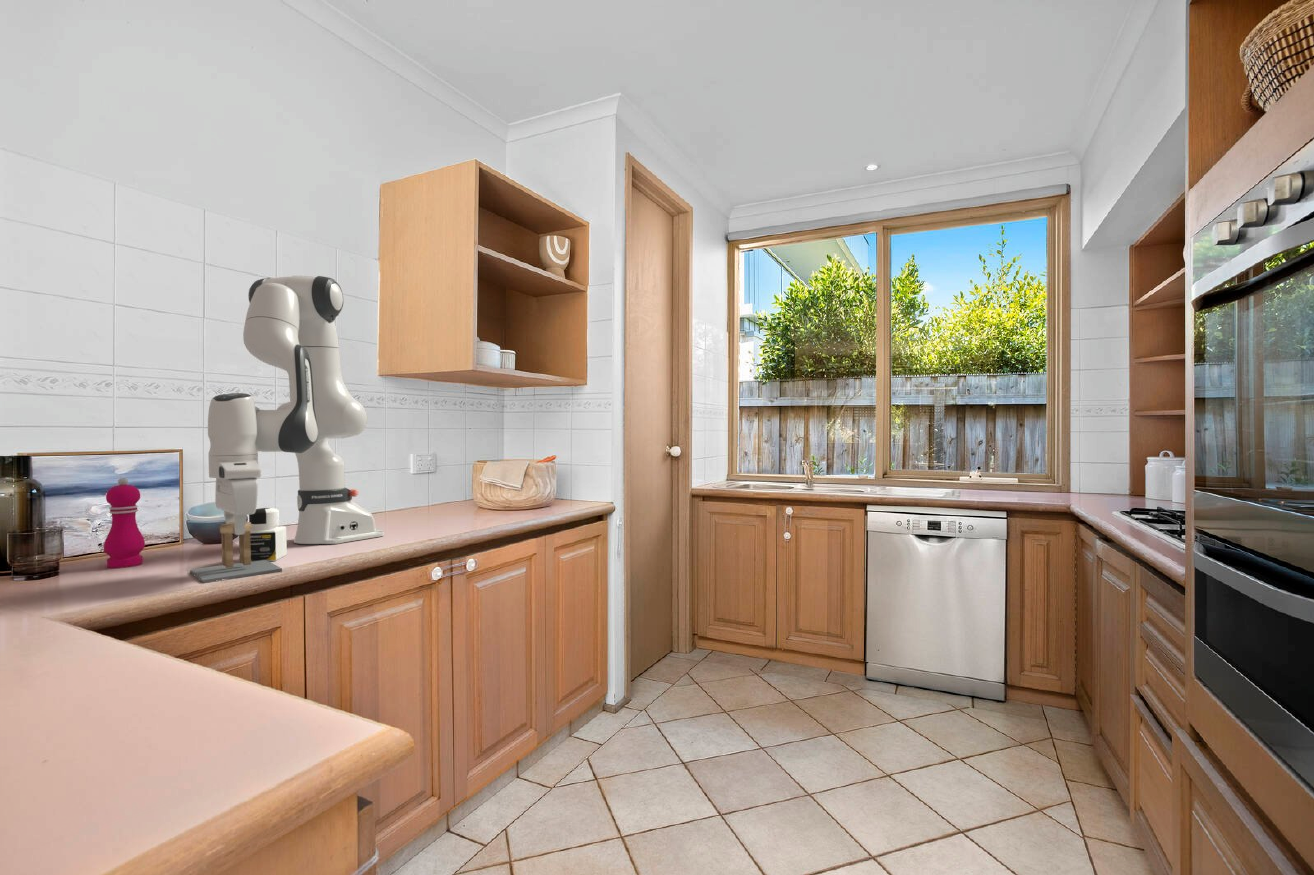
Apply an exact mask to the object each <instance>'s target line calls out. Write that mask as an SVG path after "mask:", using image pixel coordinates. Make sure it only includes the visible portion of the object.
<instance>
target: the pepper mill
mask: <svg viewBox="0 0 1314 875" xmlns="http://www.w3.org/2000/svg"><path fill="white" fill-rule="evenodd" d="M128 483H129V480H128V479H127V478H126V477H122V478H119V479H118V481H117V484H118V485H115V486H112V487H111V488H109V489H108V490H107V492H106V494H105V500H106V502H107V503H108V504H109V505H110V507H109V512H108V513H109V514H111V519H112V520H111V525H110V529H109V531H108V533H107V536H106V538H105V540H104V543H103V552H104V553H105V554H106V555H107V556H109V558H107V559H106V567H107V568H108V567H109V568H108V569H120V568H121V567H123V568H129V567H128V566H130V567H135V566H140V565H142V564H143V561H144V558H143V555H142V554H140V553H141V552H142V551H143V550H144V549H145V548H146V543H145V538H144V535H143V534H142V532H141V530H140V529H139V527H138V523H137V519H136V515H137V512H138V511H139V510H138V508H139V505H136V504H137V503H138V502H139V501H140V499H141V493H140V490H139V489H138V488H137V487H136V486H134V485H131V484H128Z"/></svg>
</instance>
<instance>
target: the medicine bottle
mask: <svg viewBox="0 0 1314 875" xmlns="http://www.w3.org/2000/svg"><path fill="white" fill-rule="evenodd" d="M248 522H251V531H250V545H251V561H257V560H264V559H265V560H267V561H269V562H277V561H279V560H280V559H282V558H284V557H286V556H287V555H288V549H287V527H286V526H284V525H283V526H282V525H280V510H279V509H277V508H275V507H260V508H256V511H255V513H254V514H250V515H248ZM279 525H280V526H279Z"/></svg>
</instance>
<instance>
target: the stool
mask: <svg viewBox="0 0 1314 875" xmlns="http://www.w3.org/2000/svg"><path fill="white" fill-rule="evenodd" d="M233 526H234V523H226V522H225V523H221V524H219V534H221V565H223V566H225V567H226V568H230V567H233V564H234V542H233V540H234V537H233V536H234V535H233V534H234V528H233ZM250 531H251V522H249V521H246V524H245V533H244V534H242V535H238V550H239V553H238V554H239V557H238V558H239V563H243V565H251V545H250Z"/></svg>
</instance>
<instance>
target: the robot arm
mask: <svg viewBox="0 0 1314 875" xmlns="http://www.w3.org/2000/svg"><path fill="white" fill-rule="evenodd" d="M247 297H248V301H249V305H248V308H247V312H246V316H245V322H244V326H243V333H242V334H243V337H242V338H243V344H244V346H245V348H246V349H247V351H248V352H249V353H250V355H252V356H254V358H256V359H257V360H259V361H260V362H263V363H265V364H267V365H269V366H272V367H276V368H278V369H280V370H284V371H285V372H286V373H287V374H288V383H289V384H288V386H289V388H288V389H289V401H288V402H284V403H282V404H280V405H279V406H278V407H277V409H260V408H258V407H257V406H255V405H256V404H255V401H254V396H253V395H252V394H248V393H244V392H243V393H242V392H236V393H235V392H234V393H233V392H232V393H231V392H230V393H224V394H222V393H221V394H218V395H215V396H214V397H212V398H211V399H210V402H209V405H208V406H209V407H208V416H207V437H208V439H209V442H210V445H209V446H210V447H209V451H208V477H209V478H210V479H212V478H213V479H215V499H214V500H215V506H216V508H217V509H218V510H221V511H223V515H224V520H225V524H226V523H234V526H233V528H234V533H233V534H234V535H236V536H239V535H242V534H244V533H245V524H246V522H247V519H248V517H247V516H249V515H250V514H254V513H255V511H256V509H258V508H257V507H258V496H259V495H258V492H259V480H258V479H259V478H261V477H262V469H261V467H260V465H259V458H258V457H259V453H258V452H263V453H264V452H265V453H269V452H270V453H272V452H273V453H275V452H279V453H280V452H284V453H292V454H293V453H294V454H295V456H296V460H297V467H298V480H299V483H298V484H299V485H298V486H299V489H298V490H297V496H296V499H297V501H296V502H297V504H296V505H297V510H298V519H297V520H298V522H297V527H296V531H295V532H296V533H295V536H294V540H293V543H294V544H300V545H319V544H320V545H321V544H322V545H323V544H324V545H335V544H337V545H338V544H342V543H343V544H344V543H348V542H353V541H354V542H355V541H359V540H360V541H361V540H366V539H372V538H378V537H384V535H385V532H384V530H382V529H378V528H376V520H375V518H374V514H373V513H372V512H370V511H369V510H368V509H366V508H364V507H362V506H361V505H359V504H358V503H357V502H355V501H354V500H353V498H356V497H358V495H359V491H358V490H357V489H353V488H352V489H349V488H347V487H345V486H346V485H345V483H346V482H345V481H346V480H345V462H344V459H343V458H342V456H340V455H339V454H337V453H335V452H334V451H333V449H332V448H331V446H330V443H329V439H346V438H350V437H354V436H358V435H360V434H361V433H363V431H364V430H365V428H366V425H367V423H368V416H367V411H366V409H365V407H364V406H363V404H361V403H360V402H359V401H358V400H356V399H355V398H354V397H353V395H352V394H351V393H350V391H349V390H348V388H347V386H346V384H345V381H344V378H343V375H342V369H341V367H342V366H341V359H340V345H339V336H338V331H337V326H336V323H335V320H336V319H337V317H338V316H339V315H340V313H341V312H342V310H343V307H344V295H343V291H342V288H341V286H340V284H339V283H338V282H337V281H336V280H335V279H334V278H331V277H328V276H322V275H318V276H313V275H312V276H310V275H291V276H279V277H274V278H273V277H272V278H271V277H265V278H260V279H257V280H255V281H254V282H253V283H252V284H251V285H250V288H249V289H248V296H247Z"/></svg>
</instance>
